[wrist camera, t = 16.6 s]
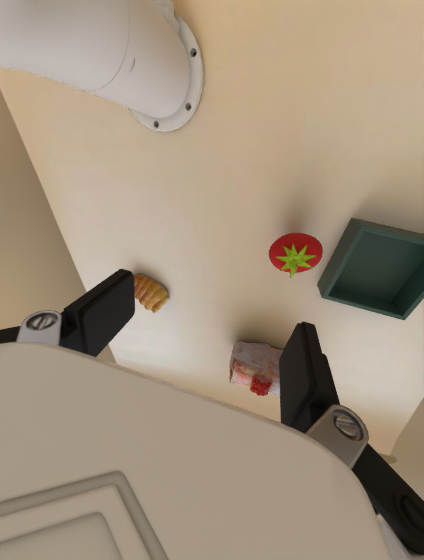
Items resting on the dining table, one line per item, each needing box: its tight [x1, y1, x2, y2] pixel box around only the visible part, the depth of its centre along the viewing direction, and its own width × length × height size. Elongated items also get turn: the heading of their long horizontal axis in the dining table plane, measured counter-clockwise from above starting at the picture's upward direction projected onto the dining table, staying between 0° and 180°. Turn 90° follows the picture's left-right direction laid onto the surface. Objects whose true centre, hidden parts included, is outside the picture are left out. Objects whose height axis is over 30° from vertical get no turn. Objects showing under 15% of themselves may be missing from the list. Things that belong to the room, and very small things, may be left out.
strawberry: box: [269, 233, 323, 278], centre depth 32 cm, size 6×8×10 cm
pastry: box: [134, 274, 170, 313], centre depth 47 cm, size 9×7×4 cm
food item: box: [229, 341, 283, 396], centre depth 46 cm, size 14×8×10 cm, turn 88°
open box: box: [317, 218, 424, 320], centre depth 33 cm, size 12×13×4 cm
